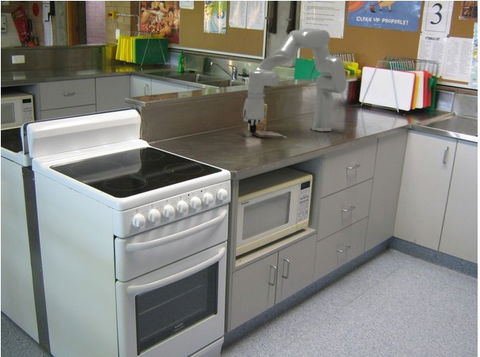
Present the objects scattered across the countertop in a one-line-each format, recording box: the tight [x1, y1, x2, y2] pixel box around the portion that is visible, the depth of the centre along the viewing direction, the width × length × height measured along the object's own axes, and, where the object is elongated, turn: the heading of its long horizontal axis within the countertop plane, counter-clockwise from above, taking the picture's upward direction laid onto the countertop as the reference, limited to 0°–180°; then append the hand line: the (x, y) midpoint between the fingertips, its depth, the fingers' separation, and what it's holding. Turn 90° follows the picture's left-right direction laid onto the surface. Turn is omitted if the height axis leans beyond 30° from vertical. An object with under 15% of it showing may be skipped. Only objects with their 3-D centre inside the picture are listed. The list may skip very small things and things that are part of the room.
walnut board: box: [249, 130, 284, 139], centre depth 266 cm, size 1×10×14 cm
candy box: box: [247, 103, 268, 131], centre depth 276 cm, size 9×4×15 cm, turn 118°
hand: (252, 132), depth 263 cm, fingers closed
